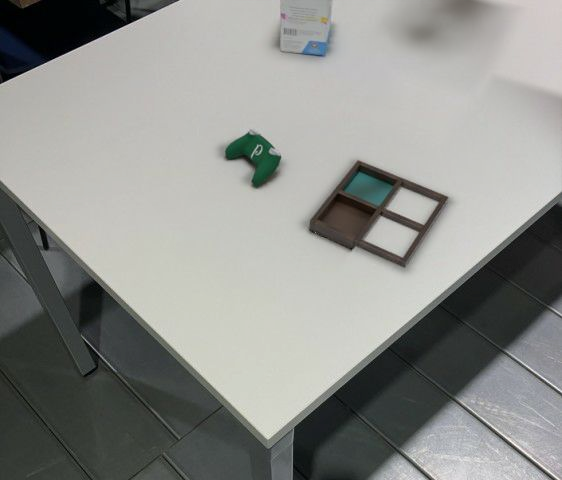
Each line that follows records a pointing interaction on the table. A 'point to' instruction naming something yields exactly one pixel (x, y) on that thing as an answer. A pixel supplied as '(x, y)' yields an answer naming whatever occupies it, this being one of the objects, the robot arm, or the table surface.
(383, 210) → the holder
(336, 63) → the table surface
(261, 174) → the gaming controller
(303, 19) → the ink box
